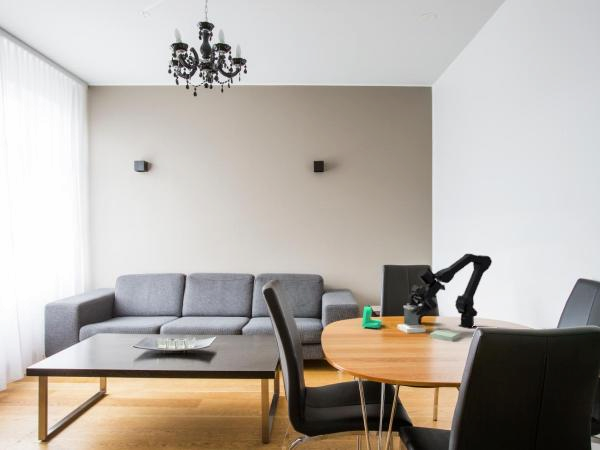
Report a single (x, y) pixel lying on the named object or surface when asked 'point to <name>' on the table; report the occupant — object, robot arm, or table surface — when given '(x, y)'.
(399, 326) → the stand
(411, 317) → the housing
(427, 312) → the coffee mug
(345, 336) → the table surface
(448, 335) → the stand
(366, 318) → the camera mount
